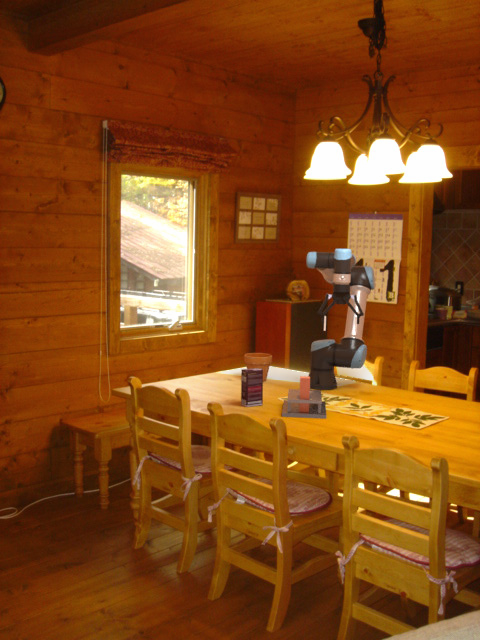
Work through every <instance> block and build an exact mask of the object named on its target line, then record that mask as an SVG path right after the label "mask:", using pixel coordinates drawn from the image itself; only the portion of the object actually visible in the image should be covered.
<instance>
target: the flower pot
mask: <svg viewBox="0 0 480 640" xmlns="http://www.w3.org/2000/svg"><path fill="white" fill-rule="evenodd" d="M243 357H244V358H243V362H244V363H245V365H246V366H245V367H246V369H252V368H260V369H263V382H266V381H267V379H268V374H269V371H270V370H269V369H270V366H271V364H272V363H273V355H272V354H270V353H266V352H265V353H264V352H249V353H245V354H244V355H243Z"/></svg>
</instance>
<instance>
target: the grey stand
mask: <svg viewBox="0 0 480 640" xmlns="http://www.w3.org/2000/svg"><path fill="white" fill-rule="evenodd" d="M322 398H323V397H322V390H321V389H312V388H310V395H309V399H300V388H295V389H294V388H288V392H287V399H286V400H285V399H284V400H283V405H282V410H281V417H284V418H306V419H310V418H311V419H327V407H326V401H323V399H322ZM299 403H309V412H300V411H299Z"/></svg>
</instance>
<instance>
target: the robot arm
mask: <svg viewBox="0 0 480 640" xmlns="http://www.w3.org/2000/svg"><path fill="white" fill-rule="evenodd" d="M305 259H306V261H305V262H306V267H307V268H308V269H316V270H317V271H318V272H319V273H321V275H322V277H323V279H324V281H326V282H327V283H328V284H330V285H332V287H333V288H332V294H329V293H326V294H325V296H324V297H325V299H324V300H323V301H322V304H321V306H320V307H319V310H318V311H317V314H318V315H320V316H321V324H323V332H324V331H325V332H326V329H327V327H326V326H327V315H326V314H327V313H328V312H329V311H330V310H331V309H332V308H333V307H334V306H335V305H344V306H345V305H348V306H347V313H346V321H345V329H344V335H343V336H342V337H341V338H340V340H339V341H340V342H336V340H335V339H328V338H327V339H318V340H314V341H313V342H312V343H311V347H310V368H309V373H308V376H307V377H310V389H311V390H321V391H323V390H325V391H327V390H328V391H329V390H334V389H337V388H338V382H337V381H338V380H337V377H336V374H335V368H343V369H344V368H346V369H361V368H362V367H364V364H365V363H366V359H367V355H368V354H367V353H368V347H367V345H366V344H365V341H364V340H363V331H364V323H365V315H366V310H367V309H366V308H367V299H368V296H370V295H371V294H372V291H373V290H375V287H376V283H375V282H376V280H375V271H374V268H373V267H372V266H369V265H368V266H367V265H357V257H356V256H355V255H354V254H353V253H352V249H350V248H335V249H334V251H333V252H329V251H328V252H327V251H326V252H325V251H323V252H322V251H309V252H308V253H307V255H306V258H305ZM331 298H332V300H333V301H332V302H331V303H330V304H329V305H328V306H327V307H326V305H327V302H328V300H330V299H331ZM325 307H326V308H325ZM324 308H325V309H324Z"/></svg>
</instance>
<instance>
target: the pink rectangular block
mask: <svg viewBox="0 0 480 640" xmlns="http://www.w3.org/2000/svg"><path fill="white" fill-rule="evenodd" d="M299 389H300V399H309V395H310V389H311V388H310V377H308V376H305V375H304V376H303V375H302V376H301V375H300V377H299ZM299 411H300V412H309V403H299Z"/></svg>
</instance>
